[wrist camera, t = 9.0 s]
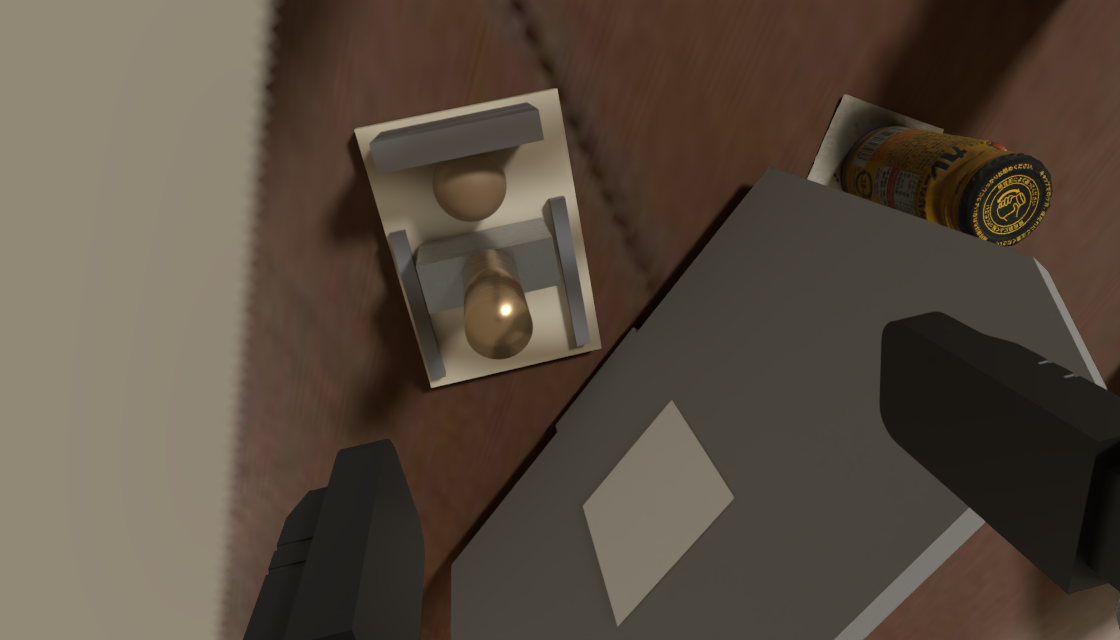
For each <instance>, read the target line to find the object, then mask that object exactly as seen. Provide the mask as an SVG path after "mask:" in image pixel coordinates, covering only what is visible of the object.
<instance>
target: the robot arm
mask: <svg viewBox="0 0 1120 640" xmlns="http://www.w3.org/2000/svg"><path fill="white" fill-rule="evenodd" d="M879 407H880V413H881V418H882V421H883V423H884V426H885V428H886V430H887V432H888V433H889V435H890V436H891V438H892V439H893V440H894V441H895V442H896V443H897V444H898V445H899V446H900V447H901V448H903V449H904V450H905V451H906V452H907V453H908V454H909V455H910V456H912V457H913V458H914V459H915V460H916V461H917V462H918V463H920V464H921V465H922V466H923V467H924V468H925V469H926V470H928V471H929V472H930V473H931V474H932V475H933V476H934V477H935V478H937V479H938V480H939V481H940V482H941V483H942V484H943V485H945V486H946V487H947V488H948V489H949V490H950V491H951V492H952V493H954V494H955V495H956V496H957V497H958V498H959V499H960V500H962V501H963V502H964V503H965V504H966V505H967V506H968V507H969V508H971V509H972V510H973V511H974V512H975V513H976V514H977V515H979V516H980V517H981V518H982V519H983V520H984V521H985V522H987V523H988V524H989V525H990V526H991V527H992V528H993V529H994V530H996V531H997V532H998V533H999V534H1000V535H1001V536H1002V537H1004V538H1005V539H1006V540H1007V541H1008V542H1009V543H1010V544H1011V545H1013V546H1014V547H1015V548H1016V549H1017V550H1018V551H1019V552H1021V553H1022V554H1023V555H1024V556H1025V557H1026V558H1027V559H1029V560H1030V561H1031V562H1032V563H1033V564H1034V565H1035V566H1036V567H1038V568H1039V569H1040V570H1041V571H1042V572H1043V573H1044V574H1046V575H1047V576H1048V577H1049V578H1050V579H1051V580H1052V581H1053V582H1055V583H1056V584H1057V585H1058V586H1059V587H1060V588H1061V589H1063V590H1064V591H1065V592H1066V593H1067V594H1070V593H1074V592H1077V591H1081V590H1085V589H1088V588H1092V587H1096V586H1099V585H1103V584H1107V583H1110V584H1111V585H1112V586H1113V587H1115V588H1116V589H1117V590H1118V591H1120V396H1118V395H1116V394H1114V393H1112V392H1110V391H1108V390H1106V389H1105V388H1103V387H1101V386H1099V385H1097V384H1095V383H1093V382H1091V381H1089V380H1087V379H1085V378H1083V377H1081V376H1078V377H1075V376H1074V374H1073V372H1072V371H1070V370H1068V369H1066V368H1064V367H1062V366H1060V365H1058V364H1056V363H1054V362H1052V363H1048V361H1047V359H1046V358H1044V357H1042V356H1041V355H1039V354H1037V353H1035V352H1033V351H1031V350H1029V349H1027V348H1025V347H1023V346H1021V345H1019V344H1017V343H1014V342H1011V341H1007V340H1004V339H1000V338H996V337H993V336H989V335H985V334H982V333H980V332H979V331H977V330H975V329H973V328H971V327H969V326H967V325H965V324H963V323H962V322H960V321H958V320H956V319H954V318H952V317H950V316H948V315H947V314H945V313H942V312H939V311H933V312H929V313H925V314H920V315H916V316H912V317H908V318H903V319H899V320H895V321H891V322H889V323H888V324H886V326H885V327H884V329H883V332H882V338H881V368H880V399H879ZM424 560H425V552H424V541H423V534H422V529H421V524H420V520H419V517H418V514H417V511H416V508H415V505H414V502H413V499H412V496H411V493H410V490H409V487H408V484H407V481H406V479H405V476H404V473H403V470H402V467H401V464H400V461H399V458H398V455H397V452H396V450H395V447H394V445H393V443H392V442H391V440H389V439H384V440H380V441H376V442H371V443H367V444H363V445H359V446H354V447H350V448H346V449H342V450H340V451H339V452H338V453H337V456H336V459H335V463H334V466H333V470H332V473H331V477H330V480H329V484H328V487H324V488H320V489H316V490H312V491H309V492H308V493H307V494H306V495H305V497H304V498H303V499H302V500H301V501H300V503H299V504H298V505H297V506H296V507H295V508H294V510H293V511H292V512H291V513H290V514H289V516H288V517H287V518H286V521H285V524H284V527H283V529H282V532H281V535H280V538H279V540H278V543H277V551H275V552H274V554H273V557H272V560H271V563H270V566H269V568H268V570H269V575H266V577H265V580H264V582H263V585H262V588H261V591H260V594H259V596H258V599H257V602H256V605H255V608H254V610H253V613H252V616H251V619H250V621H249V624H248V627H247V630H246V633H245V635H244V638H243V640H420V631H421V613H422V596H423V578H424ZM1116 617H1117V621H1118V625H1119V629H1120V593H1119V597H1118V601H1117V605H1116Z"/></svg>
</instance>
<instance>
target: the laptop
mask: <svg viewBox="0 0 1120 640" xmlns="http://www.w3.org/2000/svg"><path fill="white" fill-rule="evenodd" d="M933 311H939V312H942V313H945V314H947V315H948V316H950V317H952V318H954V319H956V320H958V321H960V322H962V323H963V324H965V325H967V326H969V327H971V328H973V329H975V330H977V331H979V332H980V333H982V334H985V335H989V336H993V337H996V338H1000V339H1004V340H1007V341H1011V342H1014V343H1017V344H1019V345H1021V346H1023V347H1025V348H1027V349H1029V350H1031V351H1033V352H1035V353H1037V354H1039V355H1041V356H1042V357H1044V358H1046V359H1047V361H1048V363H1052V362H1054V363H1056V364H1058V365H1060V366H1062V367H1064V368H1066V369H1068V370H1070V371H1072V372H1073V374H1074V376H1075V377H1078V376H1081V377H1083V378H1085V379H1087V380H1089V381H1091V382H1093V383H1095V384H1097V385H1099V386H1101V387H1103V388H1105V389H1106V390H1107V388H1106V386H1105V384H1104V382H1103V380H1102V378H1101V376H1100V374H1099V372H1098V370H1097V368H1096V366H1095V364H1094V362H1093V360H1092V358H1091V356H1090V354H1089V352H1088V350H1087V348H1086V346H1085V344H1084V342H1083V340H1082V338H1081V336H1080V334H1079V332H1078V331H1077V329H1076V327H1075V325H1074V323H1073V321H1072V319H1071V317H1070V315H1069V313H1068V311H1067V309H1066V307H1065V305H1064V303H1063V301H1062V299H1061V297H1060V295H1059V293H1058V291H1057V289H1056V287H1055V285H1054V283H1053V281H1052V279H1051V277H1050V275H1049V273H1048V271H1047V270H1046V269H1045V268H1044V267H1043V266H1042V265H1041V264H1040V263H1039V262H1038V261H1037V260H1036V259H1035V258H1034V257H1032V256H1029V255H1027V254H1024V253H1021V252H1018V251H1015V250H1012V249H1009V248H1006V247H1003V246H1000V245H997V244H995V243H992V242H989V241H986V240H983V239H980V238H977V237H974V236H971V235H968V234H965V233H962V232H960V231H957V230H954V229H951V228H948V227H945V226H942V225H939V224H936V223H933V222H930V221H927V220H925V219H922V218H919V217H916V216H913V215H910V214H907V213H904V212H901V211H898V210H895V209H893V208H890V207H887V206H884V205H881V204H878V203H875V202H872V201H869V200H866V199H863V198H860V197H858V196H855V195H852V194H849V193H846V192H843V191H840V190H837V189H834V188H831V187H828V186H826V185H823V184H820V183H817V182H814V181H811V180H808V179H805V178H802V177H799V176H796V175H793V174H791V173H788V172H785V171H782V170H779V169H776V168H773V167H770V166H769V167H768V168H767V170H766V171H765V172H764V173H763V175H762V176H761V177H760V178H759V180H758V181H757V182H756V184H755V185H754V186H753V187H752V189H751V190H750V191H749V192H748V194H747V195H746V196H745V197H744V199H743V200H742V201H741V202H740V204H739V205H738V206H737V207H736V209H735V210H734V211H733V212H732V214H731V215H730V216H729V217H728V219H727V220H726V221H725V222H724V224H723V225H722V226H721V227H720V229H719V230H718V231H717V232H716V234H715V235H714V236H713V237H712V239H711V240H710V241H709V242H708V244H707V245H706V246H705V248H704V249H703V250H702V251H701V253H700V254H699V255H698V256H697V258H696V259H695V260H694V261H693V263H692V264H691V265H690V266H689V268H688V269H687V270H686V271H685V273H684V274H683V275H682V276H681V278H680V279H679V280H678V281H677V283H676V284H675V285H674V286H673V288H672V289H671V290H670V291H669V293H668V294H667V295H666V296H665V298H664V299H663V300H662V301H661V303H660V304H659V305H658V306H657V308H656V309H655V310H654V312H653V313H652V314H651V315H650V317H649V318H648V319H647V320H646V322H645V323H644V324H643V325H642V327H641V328H640V329H639V330H637V329H636V328H634V327H633V328H632V329H631V331H630V332H629V333H628V334H627V336H626V337H625V338H624V339H623V341H622V342H621V343H620V344H619V346H618V347H617V348H616V349H615V351H614V352H613V353H612V354H611V356H610V357H609V358H608V360H607V361H606V362H605V363H604V365H603V366H602V367H601V368H600V370H599V371H598V372H597V373H596V375H595V376H594V377H593V378H592V380H591V381H590V382H589V383H588V385H587V386H586V387H585V388H584V390H583V391H582V392H581V394H580V395H579V396H578V397H577V399H576V400H575V401H574V402H573V404H572V405H571V406H570V407H569V409H568V410H567V411H566V412H565V414H564V415H563V416H562V417H561V419H560V420H559V421H558V423H557V424H556V425H555V426H556V429H557V433H556V434H555V436H554V437H553V438H552V439H551V441H550V442H549V443H548V445H547V446H546V447H545V448H544V450H543V451H542V452H541V453H540V455H539V456H538V457H537V458H536V460H535V461H534V462H533V463H532V465H531V466H530V467H529V468H528V470H527V471H526V472H525V473H524V475H523V476H522V477H521V478H520V480H519V481H518V482H517V483H516V485H515V486H514V487H513V488H512V490H511V491H510V492H509V493H508V495H507V496H506V497H505V498H504V500H503V501H502V502H501V503H500V505H499V506H498V507H497V509H496V510H495V511H494V512H493V514H492V515H491V516H490V517H489V519H488V520H487V521H486V522H485V524H484V525H483V526H482V527H481V529H480V530H479V531H478V532H477V534H476V535H475V536H474V537H473V539H472V540H471V541H470V542H469V544H468V545H467V546H466V547H465V549H464V550H463V551H462V552H461V554H460V555H459V556H458V557H457V559H456V560H455V561H454V562H453V564H452V565H451V640H863V639H864V638H865V637H866V636H867V635H868V634H869V633H870V632H872V631H873V630H874V629H875V628H876V627H877V626H878V625H879V624H880V623H881V622H882V621H883V620H884V619H885V618H886V617H887V616H888V615H889V614H890V613H891V612H892V611H893V610H894V609H895V608H896V607H897V606H899V605H900V604H901V603H902V602H903V601H904V600H905V599H906V598H907V597H908V596H909V595H910V594H911V593H912V592H913V591H914V590H915V589H916V588H917V587H918V586H919V585H920V584H921V583H922V582H923V581H925V580H926V579H927V578H928V577H929V576H930V575H931V574H932V573H933V572H934V571H935V570H936V569H937V568H938V567H939V566H940V565H941V564H942V563H943V562H944V561H945V560H946V559H947V558H948V557H949V556H950V555H952V554H953V553H954V552H955V551H956V550H957V549H958V548H959V547H960V546H961V545H962V544H963V543H964V542H965V541H966V540H967V539H968V538H969V537H970V536H971V535H972V534H973V533H974V532H975V531H976V530H978V529H979V528H980V527H981V526H982V525H983V524H984V523H985V521H984V520H983V519H982V518H981V517H980V516H979V515H977V514H976V513H975V512H974V511H973V510H972V509H971V508H969V507H968V506H967V505H966V504H965V503H964V502H963V501H962V500H960V499H959V498H958V497H957V496H956V495H955V494H954V493H952V492H951V491H950V490H949V489H948V488H947V487H946V486H945V485H943V484H942V483H941V482H940V481H939V480H938V479H937V478H935V477H934V476H933V475H932V474H931V473H930V472H929V471H928V470H926V469H925V468H924V467H923V466H922V465H921V464H920V463H918V462H917V461H916V460H915V459H914V458H913V457H912V456H910V455H909V454H908V453H907V452H906V451H905V450H904V449H903V448H901V447H900V446H899V445H898V444H897V443H896V442H895V441H894V440H893V439H892V438H891V436H890V435H889V433H888V432H887V430H886V428H885V426H884V423H883V421H882V418H881V413H880V407H879V399H880V368H881V338H882V332H883V329H884V327H885V326H886V324H888V323H889V322H891V321H895V320H899V319H903V318H908V317H912V316H916V315H920V314H925V313H929V312H933Z"/></svg>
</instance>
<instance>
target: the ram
mask: <svg viewBox="0 0 1120 640" xmlns="http://www.w3.org/2000/svg"><path fill="white" fill-rule="evenodd" d="M416 269H417V273H418V276H419V280H420V283H421V287H422V290H423V294H424V297H425V301H426V304H427V308H428V311H429V314H433V313H437V312H441V311H446V310H450V309H455V308H459V307H464V323H465V336H466V339H467V341H468V343H469V345H470V346H471V348H472V349H473V350H474V351H475V352H477V353H478V354H480V355H481V356H483V357H486V358H489V359H496V360H500V359H507V358H510V357H513V356H515V355H517V354H518V353H520V352H521V351H522V350H523V349H524V348H525V347H526V346H527V345H528V343H529V341H530V339H531V336H532V332H533V322H532V318H531V315H530V312H529V308H528V305H527V301H526V298H525V295H524V293H526V292H531V291H535V290H540V289H544V288H549V287H553V286H557V285H561V280H560V275H559V270H558V264H557V259H556V254H555V249H554V243H553V238H552V235H551V234H550V232H549V230H548V228H547V226H546V225H545V223H544V221H543V219H542V217H540V218H536V219H531V220H526V221H522V222H517V223H512V224H508V225H503V226H499V227H494V228H489V229H485V230H480V231H475V232H471V233H466V234H462V235H457V236H452V237H448V238H443V239H438V240H434V241H429V242H424V243H420V246H419V252H418V257H417V262H416Z"/></svg>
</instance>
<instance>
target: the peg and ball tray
mask: <svg viewBox="0 0 1120 640" xmlns="http://www.w3.org/2000/svg"><path fill="white" fill-rule="evenodd" d="M354 131H355V134H356V137H357V141H358V144H359V148H360V151H361V154H362V158H363V161H364V164H365V168H366V171H367V174H368V178H369V181H370V184H371V188H372V191H373V194H374V198H375V201H376V204H377V208H378V211H379V214H380V218H381V221H382V225H383V228H384V231H385V235H386V238H387V241H388V245H389V248H390V251H391V255H392V258H393V261H394V265H395V268H396V271H397V275H398V278H399V281H400V285H401V288H402V292H403V295H404V298H405V302H406V305H407V308H408V312H409V315H410V318H411V322H412V325H413V328H414V332H415V335H416V338H417V342H418V345H419V348H420V352H421V355H422V358H423V362H424V365H425V369H426V372H427V375H428V379H429V382H430V385H431V388H433V387H438V386H442V385H446V384H451V383H455V382H459V381H464V380H468V379H472V378H476V377H481V376H485V375H489V374H494V373H498V372H502V371H507V370H511V369H515V368H519V367H524V366H528V365H532V364H537V363H541V362H545V361H550V360H554V359H558V358H563V357H567V356H571V355H575V354H580V353H584V352H588V351H593V350H597V349H601V342H600V336H599V330H598V324H597V318H596V312H595V307H594V301H593V295H592V289H591V283H590V277H589V271H588V266H587V260H586V254H585V248H584V242H583V236H582V230H581V225H580V219H579V213H578V207H577V201H576V195H575V189H574V183H573V178H572V172H571V166H570V160H569V154H568V148H567V142H566V137H565V131H564V125H563V119H562V113H561V107H560V101H559V96H558V90H557V89H556V88H552V89H548V90H543V91H538V92H533V93H528V94H523V95H518V96H513V97H508V98H503V99H498V100H493V101H488V102H483V103H478V104H473V105H468V106H463V107H458V108H453V109H448V110H443V111H438V112H433V113H429V114H424V115H419V116H414V117H409V118H404V119H399V120H394V121H389V122H384V123H379V124H374V125H369V126H364V127H359V128H356V129H355V130H354ZM540 217H542V219H543V221H544V223H545V225H546V226H547V228H548V230H549V232H550V234H551V235H552V238H553V243H554V249H555V254H556V259H557V264H558V270H559V275H560V280H561V285H557V286H553V287H549V288H544V289H540V290H535V291H531V292H526V293H524V295H525V298H526V301H527V305H528V308H529V312H530V315H531V318H532V322H533V332H532V336H531V339H530V341H529V343H528V345H527V346H526V347H525V348H524V349H523V350H522V351H521V352H520V353H518V354H517V355H515V356H513V357H510V358H507V359H500V360H496V359H489V358H486V357H483V356H481V355H480V354H478V353H477V352H475V351H474V350H473V349H472V348H471V346H470V345H469V343H468V341H467V339H466V336H465V323H464V307H459V308H455V309H450V310H446V311H441V312H437V313H433V314H429V311H428V308H427V304H426V301H425V297H424V294H423V290H422V287H421V283H420V280H419V276H418V273H417V269H416V262H417V257H418V252H419V246H420V243H424V242H429V241H434V240H438V239H443V238H448V237H452V236H457V235H462V234H466V233H471V232H475V231H480V230H485V229H489V228H494V227H499V226H503V225H508V224H512V223H517V222H522V221H526V220H531V219H536V218H540Z"/></svg>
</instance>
